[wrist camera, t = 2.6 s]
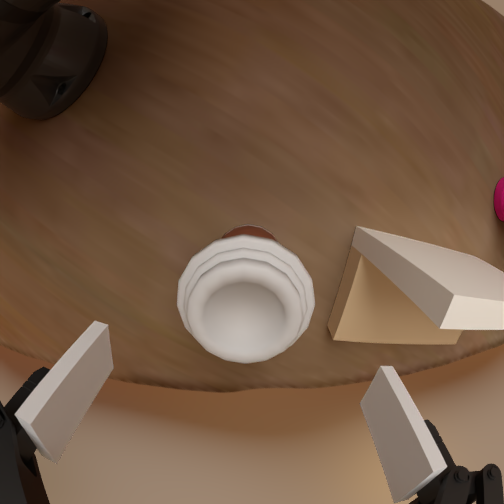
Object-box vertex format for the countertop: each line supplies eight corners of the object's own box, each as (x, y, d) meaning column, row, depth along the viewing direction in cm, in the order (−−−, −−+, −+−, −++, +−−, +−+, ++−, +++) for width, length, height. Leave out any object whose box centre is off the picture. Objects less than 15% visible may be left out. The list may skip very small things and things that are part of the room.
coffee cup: (250, 313, 29) (246, 394, 18) (184, 256, 27) (141, 316, 16) (313, 255, 27) (350, 316, 16) (247, 190, 25) (241, 209, 14)
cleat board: (356, 225, 26) (454, 294, 11) (475, 256, 27) (559, 308, 12) (326, 325, 30) (370, 439, 14) (445, 332, 30) (506, 404, 15)
